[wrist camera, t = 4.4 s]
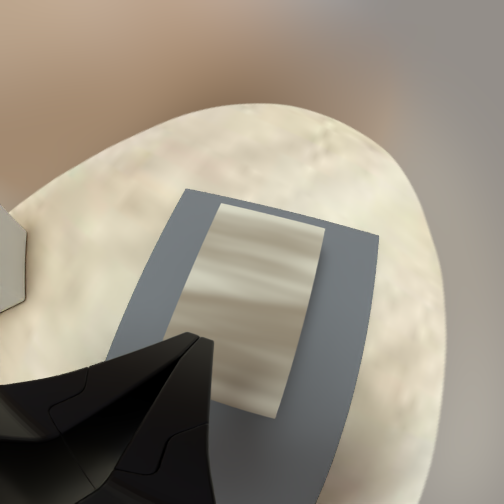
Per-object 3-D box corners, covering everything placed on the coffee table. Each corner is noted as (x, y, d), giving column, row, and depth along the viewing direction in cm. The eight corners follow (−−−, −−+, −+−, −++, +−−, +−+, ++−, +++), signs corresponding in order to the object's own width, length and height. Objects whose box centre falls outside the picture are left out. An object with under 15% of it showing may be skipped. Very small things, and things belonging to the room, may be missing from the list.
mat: (298, 534, 9) (299, 537, 9) (80, 452, 12) (76, 453, 11) (376, 239, 18) (378, 235, 18) (187, 192, 21) (185, 188, 20)
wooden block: (275, 418, 11) (325, 228, 15) (149, 374, 12) (221, 203, 16) (272, 414, 13) (317, 251, 17) (166, 378, 14) (225, 227, 18)
